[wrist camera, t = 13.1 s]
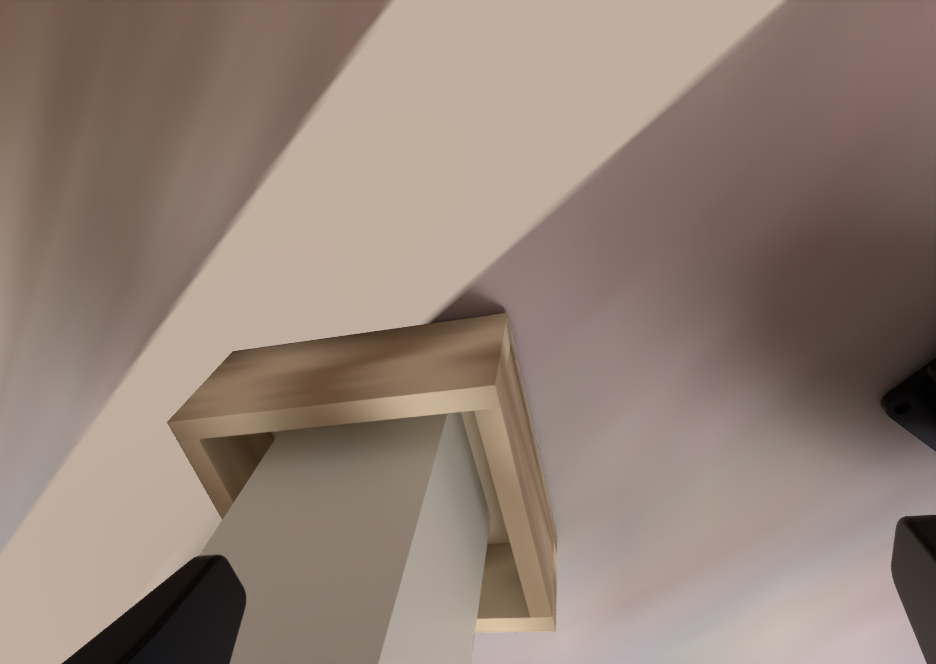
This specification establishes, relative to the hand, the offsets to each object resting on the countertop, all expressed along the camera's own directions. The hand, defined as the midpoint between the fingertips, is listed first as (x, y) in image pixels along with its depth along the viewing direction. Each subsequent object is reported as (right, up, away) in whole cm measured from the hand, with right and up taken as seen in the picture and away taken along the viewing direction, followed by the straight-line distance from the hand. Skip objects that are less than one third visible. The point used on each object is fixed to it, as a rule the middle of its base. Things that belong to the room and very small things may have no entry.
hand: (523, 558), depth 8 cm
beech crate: (-3, -2, +17) cm, 17 cm away
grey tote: (-4, -2, +16) cm, 16 cm away
